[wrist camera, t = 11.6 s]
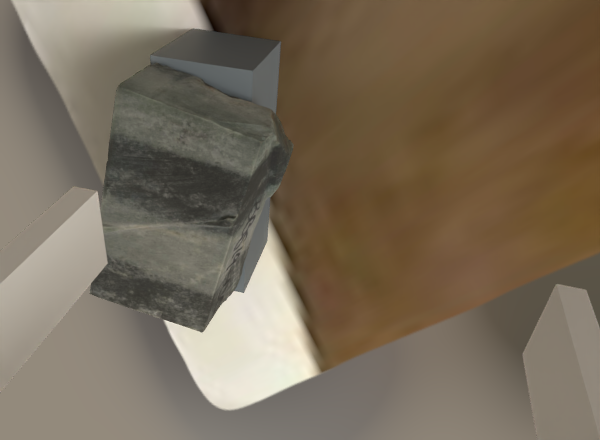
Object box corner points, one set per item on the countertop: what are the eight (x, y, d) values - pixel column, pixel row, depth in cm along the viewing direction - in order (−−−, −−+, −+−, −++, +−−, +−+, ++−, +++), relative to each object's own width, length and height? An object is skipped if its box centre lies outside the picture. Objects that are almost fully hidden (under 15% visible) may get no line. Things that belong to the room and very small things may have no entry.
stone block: (304, 114, 30) (285, 152, 26) (243, 293, 38) (221, 345, 34) (156, 58, 30) (111, 87, 26) (126, 249, 38) (88, 296, 34)
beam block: (194, 27, 36) (150, 55, 30) (281, 40, 35) (252, 71, 30) (198, 225, 45) (163, 276, 39) (268, 238, 44) (243, 292, 38)
